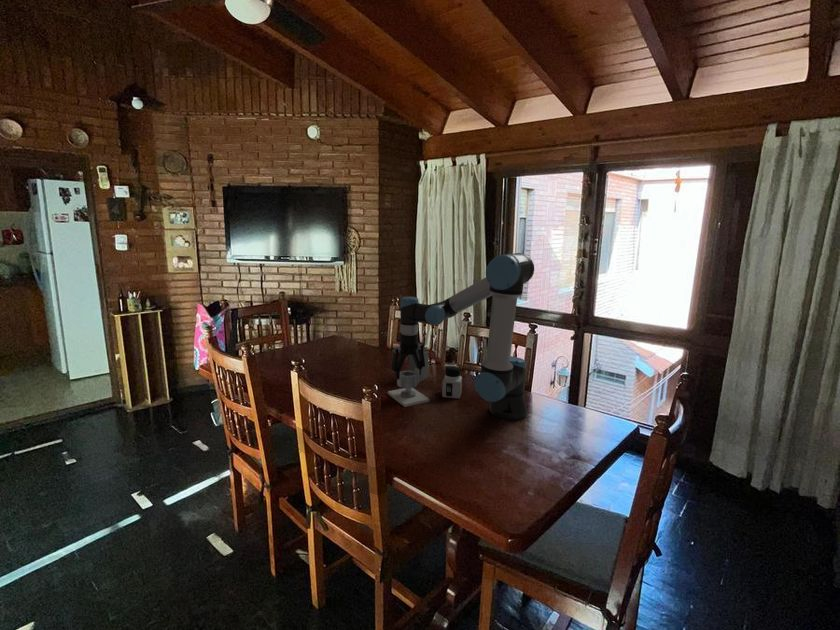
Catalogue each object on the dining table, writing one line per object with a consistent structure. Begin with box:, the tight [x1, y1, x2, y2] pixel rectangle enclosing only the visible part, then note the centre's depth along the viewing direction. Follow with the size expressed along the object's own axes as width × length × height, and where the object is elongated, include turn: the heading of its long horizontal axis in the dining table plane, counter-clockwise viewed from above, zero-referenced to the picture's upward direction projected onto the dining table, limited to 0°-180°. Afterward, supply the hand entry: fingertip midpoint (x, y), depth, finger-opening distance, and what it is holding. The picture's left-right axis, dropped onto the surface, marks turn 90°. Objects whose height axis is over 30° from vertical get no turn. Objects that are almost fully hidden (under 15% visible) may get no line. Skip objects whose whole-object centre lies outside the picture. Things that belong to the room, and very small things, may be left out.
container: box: [441, 365, 463, 399], centre depth 195 cm, size 8×8×13 cm
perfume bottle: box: [408, 341, 429, 383], centre depth 214 cm, size 7×7×18 cm
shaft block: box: [387, 387, 430, 408], centre depth 191 cm, size 16×12×7 cm
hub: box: [400, 370, 418, 389], centre depth 190 cm, size 8×8×5 cm
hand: (408, 384), depth 191 cm, fingers closed on hub, 8 cm apart
